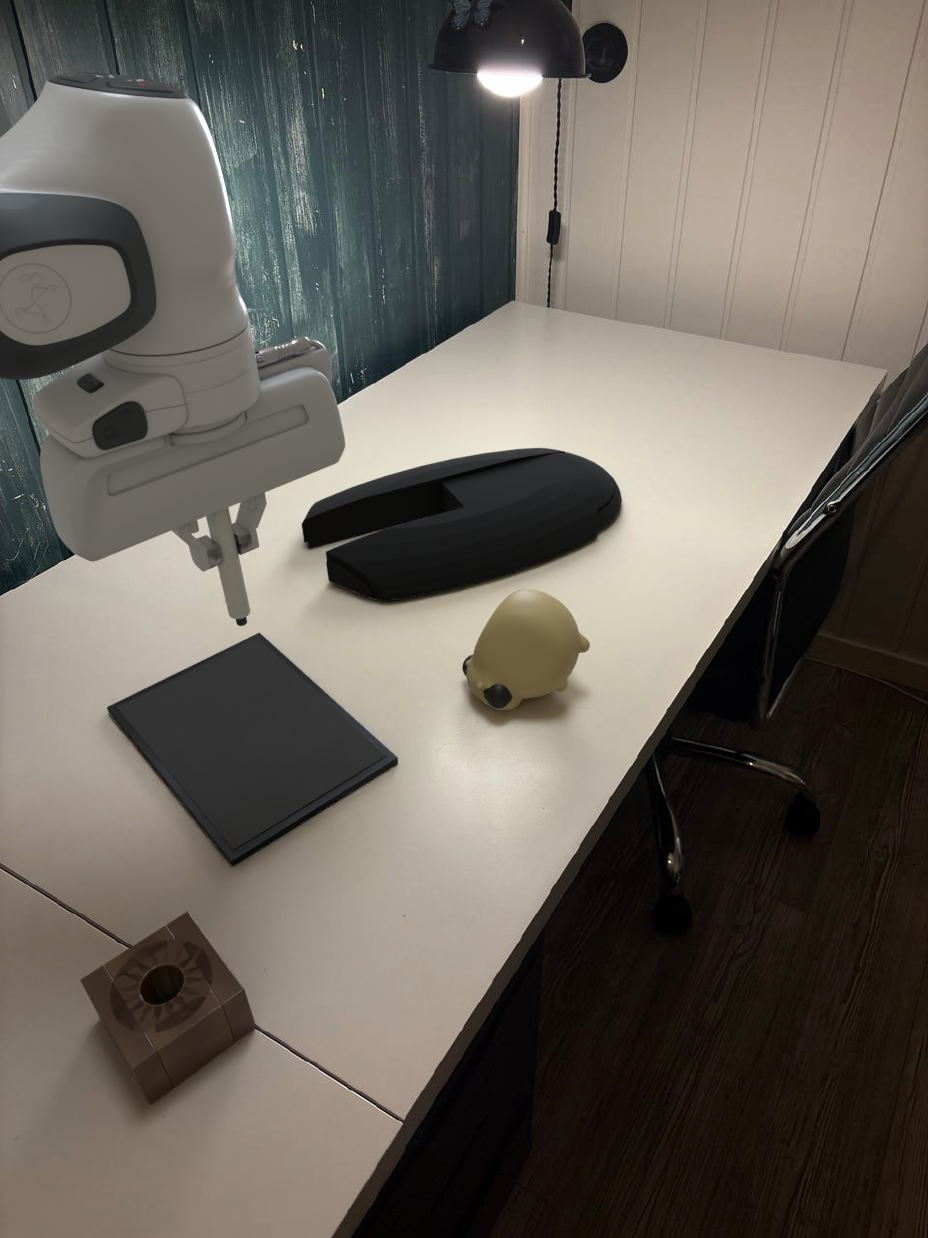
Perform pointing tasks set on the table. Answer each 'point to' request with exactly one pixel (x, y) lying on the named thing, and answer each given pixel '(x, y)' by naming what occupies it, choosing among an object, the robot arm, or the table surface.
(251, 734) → the tablet
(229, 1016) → the pen block
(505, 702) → the toy pig
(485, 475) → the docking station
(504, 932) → the table surface
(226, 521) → the stylus
